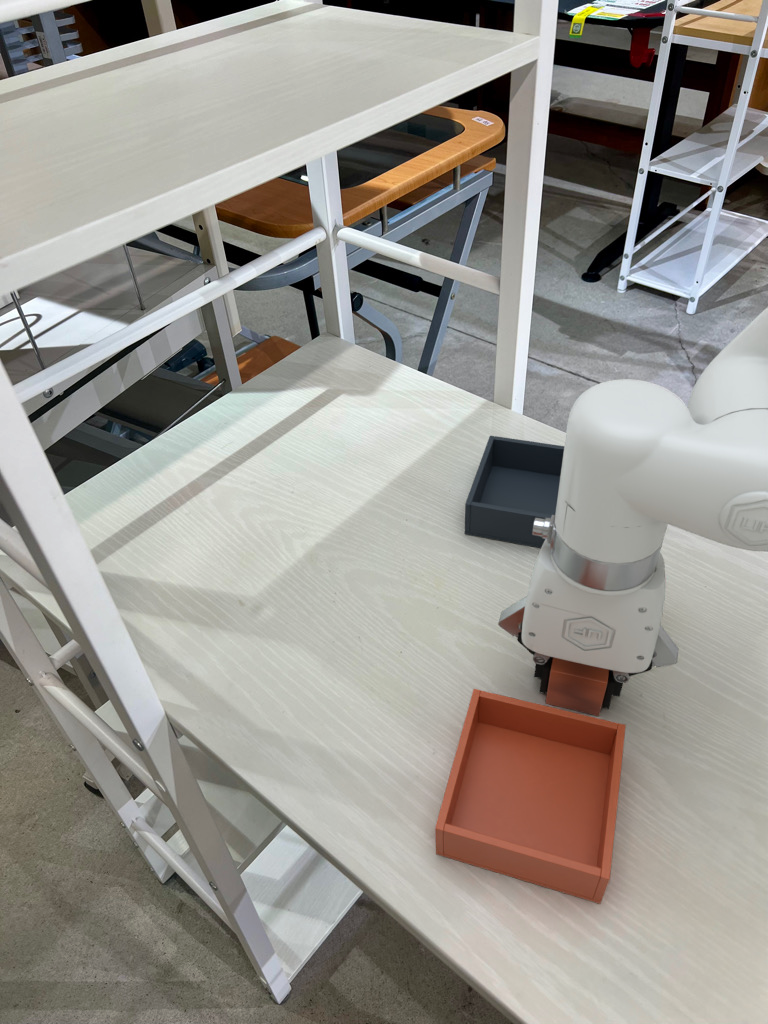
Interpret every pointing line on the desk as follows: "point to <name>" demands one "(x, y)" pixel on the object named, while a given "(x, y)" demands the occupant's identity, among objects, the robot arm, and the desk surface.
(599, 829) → the terracotta bin
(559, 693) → the terracotta block
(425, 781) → the desk surface
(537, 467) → the slate bin
